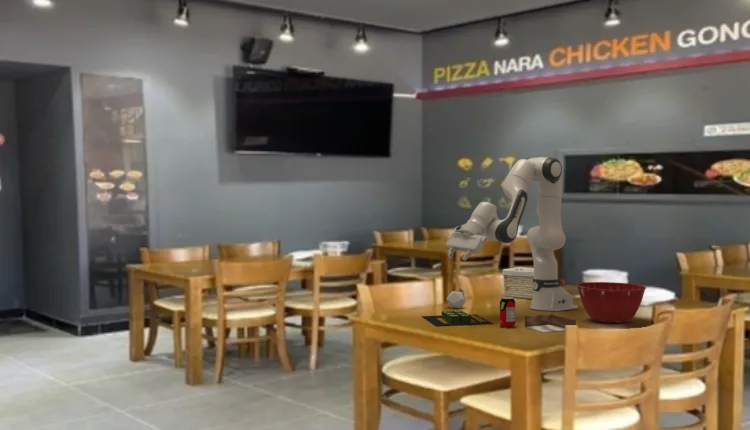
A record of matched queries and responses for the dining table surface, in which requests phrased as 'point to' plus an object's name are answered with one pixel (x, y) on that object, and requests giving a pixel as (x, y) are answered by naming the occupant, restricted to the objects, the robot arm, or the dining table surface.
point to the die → (456, 299)
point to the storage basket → (518, 282)
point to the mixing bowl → (611, 300)
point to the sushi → (456, 319)
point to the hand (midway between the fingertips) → (456, 258)
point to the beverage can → (507, 312)
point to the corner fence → (548, 322)
